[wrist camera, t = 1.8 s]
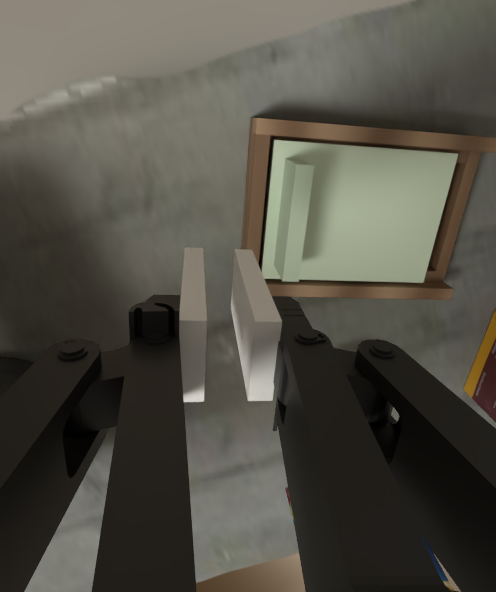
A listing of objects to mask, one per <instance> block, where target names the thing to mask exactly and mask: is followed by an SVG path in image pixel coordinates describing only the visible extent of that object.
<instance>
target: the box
mask: <svg viewBox="0 0 496 592" xmlns="http://www.w3.org/2000/svg"><path fill="white" fill-rule="evenodd" d="M272 139H277V140H290V141H303V142H317V143H330V144H343V145H356V146H369V147H382V148H395V149H409V150H422V151H435V152H448V153H456V154H458V157H457V161H456V165H455V168H454V172H453V176H452V179H451V183H450V187H449V190H448V194H447V198H446V201H445V205H444V209H443V213H442V216H441V220H440V224H439V227H438V231H437V235H436V238H435V242H434V246H433V249H432V253H431V257H430V260H429V264H428V268H427V271H426V275H425V279H424V282H423V283H410V282H373V281H335V280H299V282H288V281H282V280H281V279H265V282H266V284H267V286H268V289H269V291H270V294H271V296H292V297H341V298H389V299H438V300H451V297H452V294H453V290H454V289H453V288H452V287H450V286H449V285H447V284H446V283H444V282H443V281H444V278H445V275H446V271H447V268H448V264H449V261H450V258H451V254H452V251H453V247H454V244H455V241H456V237H457V234H458V230H459V227H460V224H461V220H462V217H463V213H464V210H465V207H466V203H467V200H468V196H469V193H470V189H471V186H472V183H473V179H474V176H475V172H476V169H477V166H478V162H479V159H480V155H481V152H494V153H496V138H493V137H481V136H468V135H456V134H444V133H432V132H420V131H408V130H396V129H384V128H372V127H360V126H348V125H336V124H324V123H312V122H300V121H288V120H276V119H264V118H251V119H250V133H249V148H248V162H247V176H246V190H245V204H244V218H243V232H242V246H241V249H246V250H252V251H253V253H254V255H255V258H256V260H257V263H258V265H259V267H260V262H261V251H262V241H263V230H264V219H265V208H266V197H267V187H268V176H269V165H270V154H271V144H272Z"/></svg>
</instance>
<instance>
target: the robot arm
mask: <svg viewBox="0 0 496 592" xmlns="http://www.w3.org/2000/svg"><path fill="white" fill-rule="evenodd" d="M231 311H232V317H233V322H234V328H235V333H236V339H237V344H238V349H239V355H240V360H241V366H242V371H243V377H244V382H245V388H246V393H247V399H248V401H272V400H273V392H274V387H275V390H276V393H277V402H276V410H275V418H274V426H273V431H277V426H278V429H279V435H280V441H281V447H282V453H283V459H284V465H285V471H286V477H287V483H288V489H289V495H290V501H291V507H292V513H293V519H294V524H295V530H296V536H297V542H298V548H299V554H300V560H301V566H302V572H303V578H304V584H305V590H306V592H458V591H452V590H450V589H449V588H448V587H447V586H446V585H445V584H444V582H443V581H442V579H441V577H440V576H439V573H438V571H437V569H436V567H435V565H434V563H433V561H432V558H431V556H430V554H429V552H428V550H427V548H426V546H425V543H424V541H423V539H424V540H425V541H426V543H427V544H428V546H429V547H430V548H431V550H432V551H433V553H434V554H435V555H436V557H437V558H438V559H439V561H440V562H441V564H442V565H443V567H444V568H445V569H446V571H447V572H448V573H449V575H450V576H451V578H452V579H453V581H454V582H455V583H456V585H457V586H458V587H459V589H460V590H461V592H496V429H495V428H494V427H493V426H492V425H491V424H489V423H488V422H487V421H486V420H485V419H484V418H482V417H481V416H480V415H479V414H478V413H476V412H475V411H474V410H473V409H472V408H471V407H469V406H468V405H467V404H466V403H465V402H463V401H462V400H461V399H460V398H459V397H458V396H456V395H455V394H454V393H453V392H452V391H450V390H449V389H448V388H447V387H446V386H445V385H443V384H442V383H441V382H440V381H439V380H437V379H436V378H435V377H434V376H433V375H432V374H430V373H429V372H428V371H427V370H426V369H424V368H423V367H422V366H421V365H420V364H418V363H417V362H416V361H415V360H414V359H413V358H411V357H410V356H409V355H408V354H407V353H405V352H404V351H403V350H402V349H400V348H399V347H397V346H396V345H394V344H391V343H389V342H387V341H384V340H382V341H381V340H378V339H376V340H366V341H362V342H361V343H360V344H359V345H358V350H357V353H356V352H351V351H345V350H340V349H336V348H333V346H332V344H331V341H330V339H329V338H328V337H327V336H326V335H325V334H323V333H321V332H320V331H317V330H314V329H312V327H311V325H310V323H309V322H308V320H307V318H306V316H305V314H304V312H303V311H302V309H301V307H300V305H299V303H298V302H297V301H295V300H294V299H292V298H291V297H286V296H271V294H270V291H269V289H268V286H267V284H266V282H265V279H264V277H263V274H262V272H261V270H260V267H259V265H258V263H257V260H256V258H255V255H254V253H253V251H252V250H246V249H234V264H233V280H232V295H231ZM129 327H130V343H129V345H127V346H126V347H123V348H120V349H117V350H113V351H108V352H102V353H101V351H100V348H99V346H98V344H96V343H94V342H93V341H88V340H77V339H73V340H67V341H63V342H61V343H58V344H56V345H53V346H52V347H51V348H49V349H48V350H46V352H45V353H44V354H43V355H42V356H41V357H40V358H39V359H38V360H37V361H36V362H35V363H30V362H27V361H22V360H17V359H11V358H0V592H24V591H25V589H26V587H27V585H28V583H29V581H30V579H31V577H32V576H33V574H34V572H35V570H36V568H37V566H38V564H39V562H40V560H41V558H42V556H43V555H44V553H45V551H46V549H47V547H48V545H49V543H50V541H51V539H52V537H53V535H54V534H55V532H56V530H57V528H58V526H59V524H60V522H61V520H62V518H63V516H64V514H65V513H66V511H67V509H68V507H69V505H70V503H71V501H72V499H73V497H74V495H75V493H76V492H77V490H78V488H79V486H80V484H81V482H82V480H83V478H84V476H85V474H86V472H87V471H88V469H89V467H90V465H91V463H92V461H93V459H94V457H95V455H96V453H97V451H98V450H99V448H100V446H101V444H102V442H103V440H104V438H105V436H106V432H107V428H110V427H114V426H117V429H116V435H115V442H114V448H113V455H112V462H111V468H110V475H109V482H108V488H107V495H106V501H105V508H104V515H103V521H102V528H101V534H100V541H99V548H98V554H97V561H96V567H95V574H94V581H93V587H92V592H196V580H195V565H194V550H193V535H192V520H191V505H190V490H189V475H188V460H187V445H186V430H185V415H184V402H204V387H205V361H206V335H207V311H206V293H205V275H204V257H203V248H192V247H185V250H184V262H183V274H182V286H181V295H153V296H151V297H150V298H149V299H148V300H146V302H143V303H139V304H137V305H135V306H133V307H131V309H130V310H129ZM393 407H394V408H395V409H396V411H397V412H398V413H399V416H400V417H399V420H398V422H397V421H396V420H395V419H394V418H393V417H392V416H391V412H392V409H393ZM420 534H421V535H420ZM421 536H422V537H423V539H422V537H421Z"/></svg>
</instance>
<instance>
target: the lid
mask: <svg viewBox="0 0 496 592" xmlns="http://www.w3.org/2000/svg"><path fill="white" fill-rule="evenodd" d="M457 157H458V154H456V153H448V152H435V151H422V150H409V149H395V148H382V147H369V146H356V145H343V144H330V143H317V142H303V141H290V140H277V139H272V144H271V154H270V165H269V176H268V187H267V197H266V208H265V219H264V230H263V241H262V251H261V262H260V270H261V272H262V274H263V277H264V279H281V280H282V281H288V282H299V280H335V281H373V282H410V283H423V282H424V279H425V275H426V271H427V268H428V264H429V260H430V257H431V253H432V249H433V246H434V242H435V238H436V235H437V231H438V227H439V224H440V220H441V216H442V213H443V209H444V205H445V201H446V198H447V194H448V190H449V187H450V183H451V179H452V176H453V172H454V168H455V165H456V161H457Z"/></svg>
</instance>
